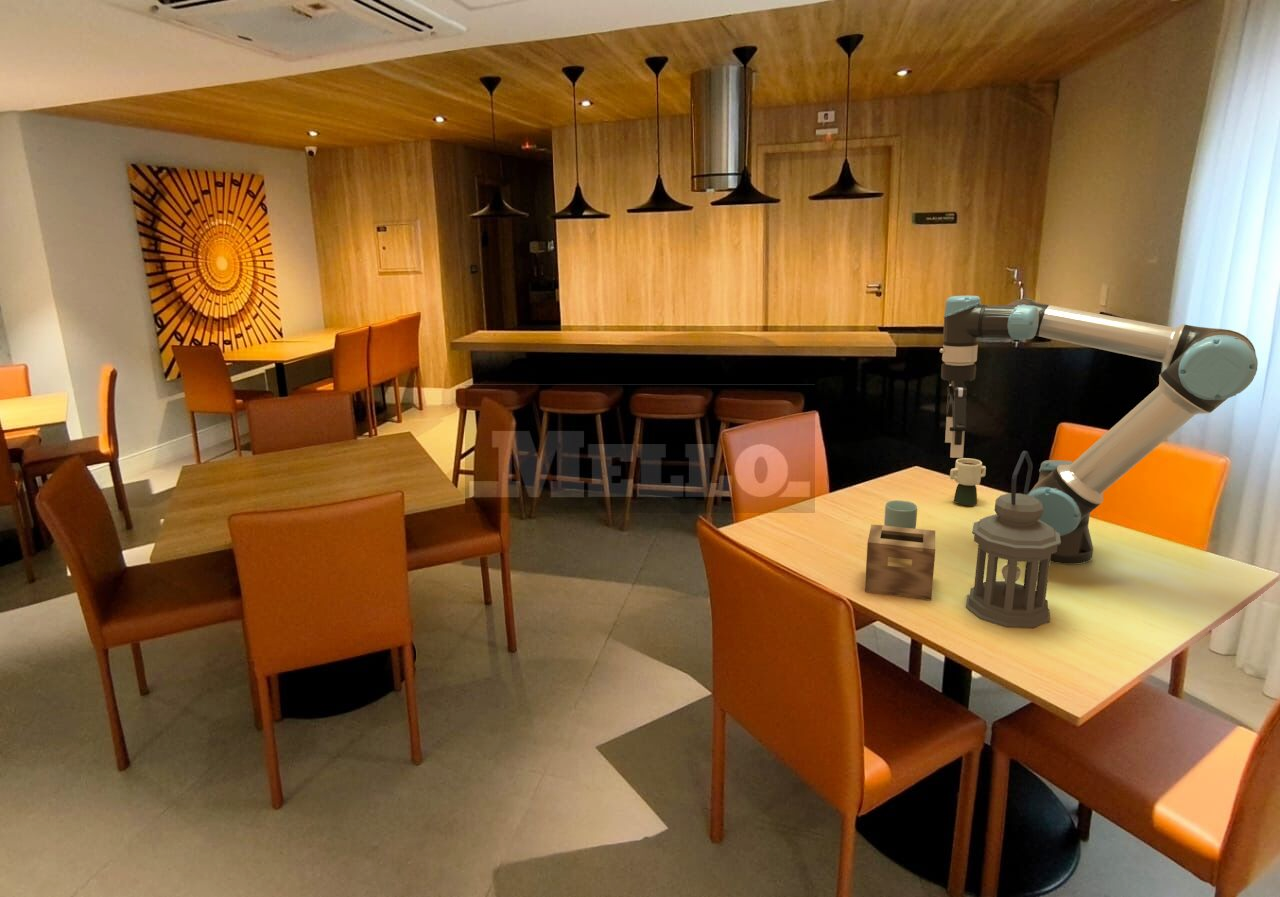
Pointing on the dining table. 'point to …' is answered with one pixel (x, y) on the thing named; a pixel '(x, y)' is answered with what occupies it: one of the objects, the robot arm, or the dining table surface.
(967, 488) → the character mug
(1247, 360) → the robot arm
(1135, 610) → the dining table surface
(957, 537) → the dining table surface
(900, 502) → the cup
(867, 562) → the coin box
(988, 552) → the lantern
